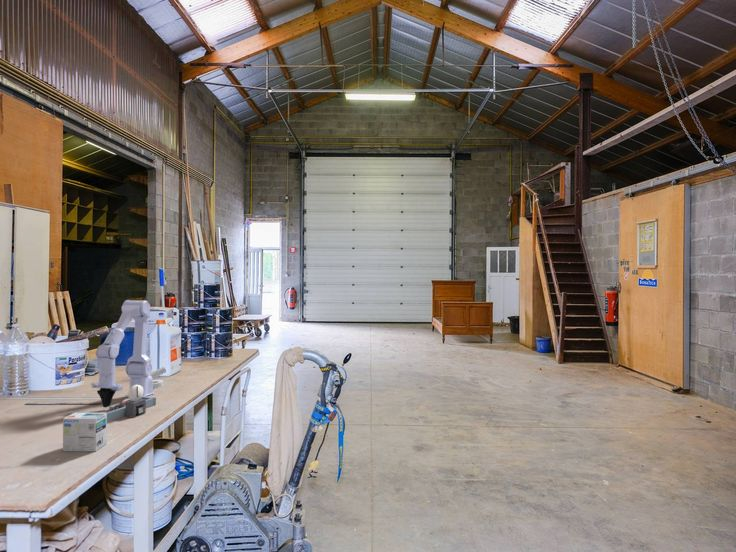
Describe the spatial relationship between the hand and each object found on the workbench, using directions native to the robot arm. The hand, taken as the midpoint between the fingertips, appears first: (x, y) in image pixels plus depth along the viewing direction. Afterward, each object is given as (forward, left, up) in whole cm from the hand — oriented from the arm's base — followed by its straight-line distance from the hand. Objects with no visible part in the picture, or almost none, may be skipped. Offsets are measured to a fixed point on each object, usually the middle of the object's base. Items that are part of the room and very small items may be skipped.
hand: (106, 406), depth 188 cm
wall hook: (-37, -11, -2) cm, 39 cm away
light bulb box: (+32, +28, -2) cm, 43 cm away
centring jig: (0, +8, -1) cm, 8 cm away
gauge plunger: (0, +14, 0) cm, 14 cm away
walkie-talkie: (-2, +6, -2) cm, 7 cm away
